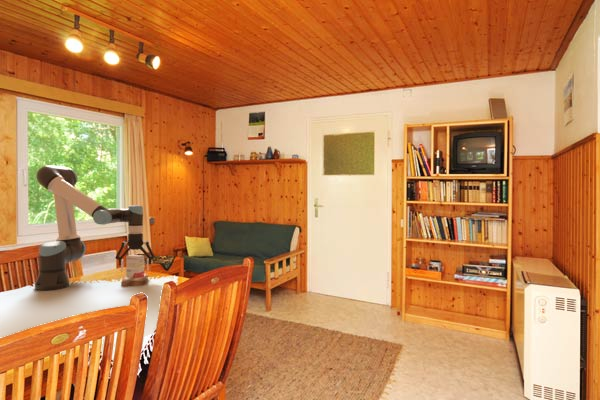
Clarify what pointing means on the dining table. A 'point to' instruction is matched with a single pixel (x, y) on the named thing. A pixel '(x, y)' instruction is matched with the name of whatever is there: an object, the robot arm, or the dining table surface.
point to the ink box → (134, 266)
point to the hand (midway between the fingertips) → (135, 270)
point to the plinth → (134, 281)
